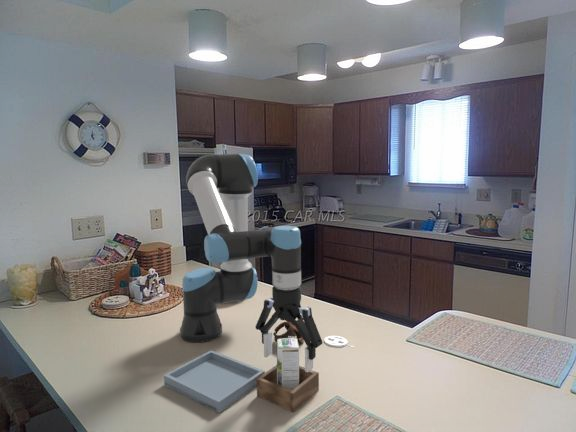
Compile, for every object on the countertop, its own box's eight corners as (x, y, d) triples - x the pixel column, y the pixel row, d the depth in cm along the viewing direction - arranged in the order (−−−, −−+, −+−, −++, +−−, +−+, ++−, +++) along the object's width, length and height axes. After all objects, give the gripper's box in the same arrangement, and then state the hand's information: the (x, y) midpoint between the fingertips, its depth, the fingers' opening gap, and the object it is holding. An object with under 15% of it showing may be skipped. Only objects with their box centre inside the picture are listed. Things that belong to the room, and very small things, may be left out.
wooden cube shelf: (257, 396, 108) (256, 378, 107) (283, 376, 117) (283, 360, 117) (293, 412, 101) (293, 393, 100) (318, 389, 110) (318, 372, 110)
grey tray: (164, 385, 114) (163, 375, 113) (211, 359, 128) (211, 350, 127) (219, 413, 101) (218, 402, 100) (264, 380, 115) (264, 371, 115)
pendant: (330, 336, 144) (330, 333, 144) (358, 343, 138) (358, 341, 138) (320, 343, 138) (320, 341, 138) (349, 351, 132) (349, 349, 132)
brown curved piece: (305, 350, 134) (293, 332, 132) (280, 359, 136) (268, 342, 134) (306, 326, 145) (295, 310, 143) (283, 336, 147) (272, 319, 145)
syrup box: (276, 387, 112) (275, 338, 109) (297, 386, 112) (297, 337, 110) (278, 399, 106) (277, 348, 104) (300, 398, 106) (299, 346, 104)
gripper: (241, 281, 109) (243, 355, 112) (320, 299, 94) (320, 383, 97) (259, 274, 115) (261, 344, 118) (335, 290, 100) (335, 369, 103)
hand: (287, 362), depth 108 cm, fingers open, 13 cm apart
